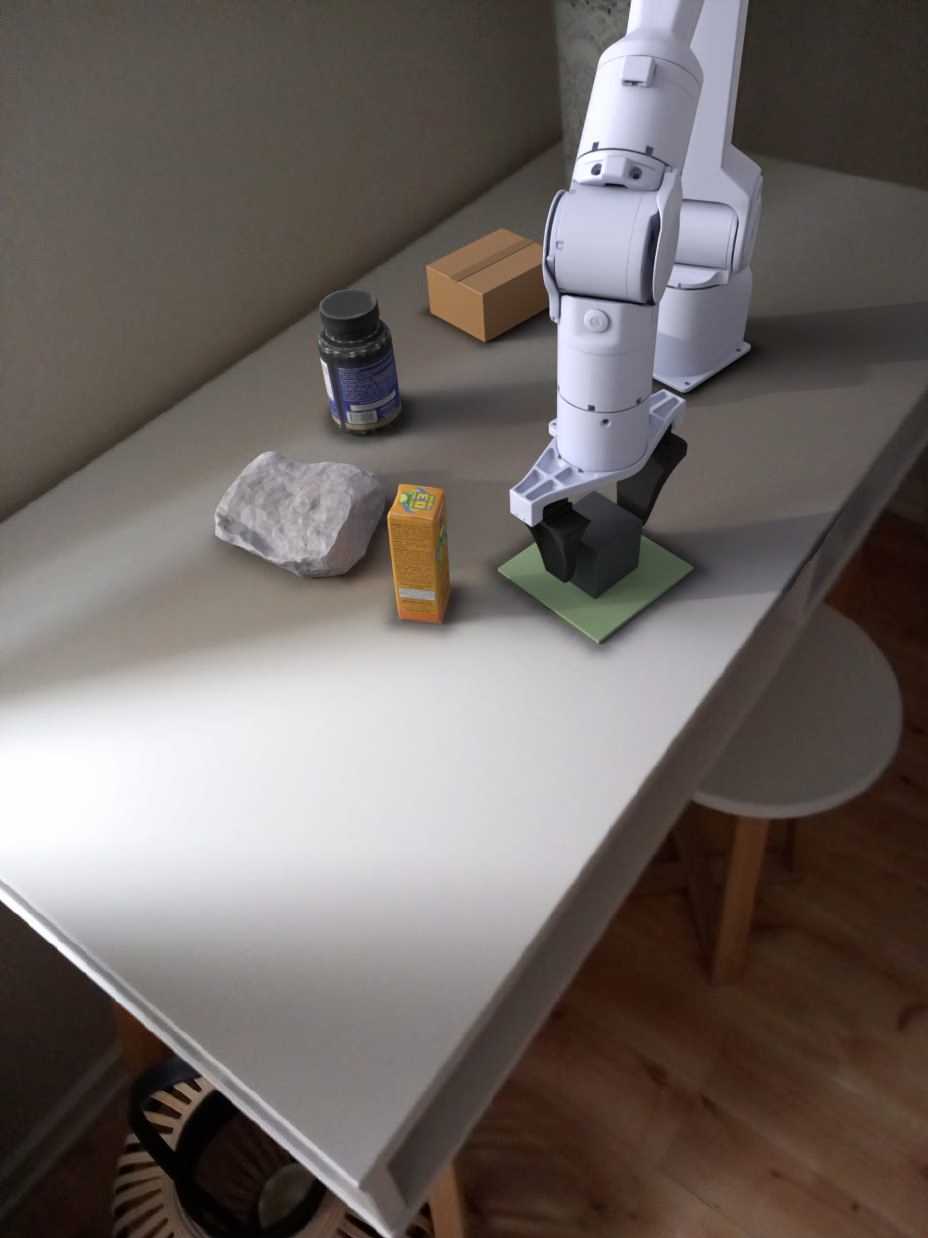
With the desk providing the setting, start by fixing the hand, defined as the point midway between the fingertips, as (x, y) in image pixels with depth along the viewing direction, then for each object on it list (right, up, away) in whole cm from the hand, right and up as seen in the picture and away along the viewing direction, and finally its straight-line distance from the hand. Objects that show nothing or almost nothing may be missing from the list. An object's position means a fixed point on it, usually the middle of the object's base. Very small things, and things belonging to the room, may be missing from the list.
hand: (596, 546), depth 69 cm
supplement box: (-12, -4, +1) cm, 13 cm away
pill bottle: (-18, +12, +16) cm, 27 cm away
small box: (0, -1, +2) cm, 2 cm away
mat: (0, -2, +2) cm, 2 cm away
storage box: (-6, +26, +27) cm, 38 cm away
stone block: (-22, +1, +7) cm, 23 cm away
